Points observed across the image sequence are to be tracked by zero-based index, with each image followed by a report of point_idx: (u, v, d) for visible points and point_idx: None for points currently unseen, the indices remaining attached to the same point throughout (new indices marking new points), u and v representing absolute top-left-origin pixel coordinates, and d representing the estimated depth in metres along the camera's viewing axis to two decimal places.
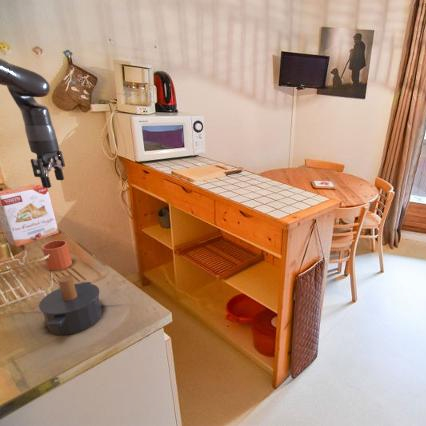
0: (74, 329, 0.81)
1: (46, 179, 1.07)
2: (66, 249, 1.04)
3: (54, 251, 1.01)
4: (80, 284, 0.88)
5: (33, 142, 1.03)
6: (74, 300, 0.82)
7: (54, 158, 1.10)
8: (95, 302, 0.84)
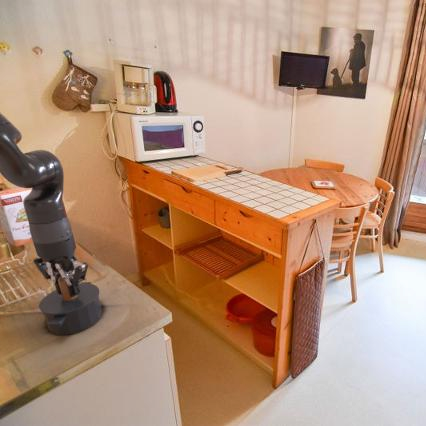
0: (74, 329, 0.81)
1: None
2: None
3: None
4: (80, 284, 0.88)
5: (63, 242, 0.75)
6: (74, 300, 0.82)
7: None
8: (95, 302, 0.84)
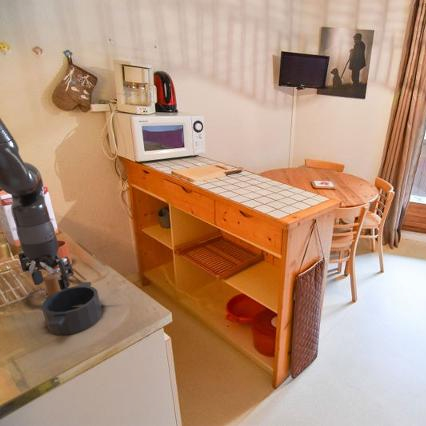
0: (74, 329, 0.81)
1: None
2: (66, 249, 1.04)
3: None
4: None
5: (47, 243, 0.85)
6: None
7: None
8: (95, 302, 0.84)
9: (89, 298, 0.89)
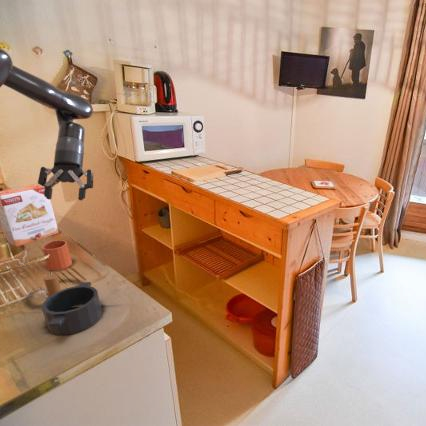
0: (74, 329, 0.81)
1: None
2: (66, 249, 1.04)
3: (54, 251, 1.01)
4: None
5: (81, 155, 1.07)
6: None
7: None
8: (95, 302, 0.84)
9: (89, 298, 0.89)
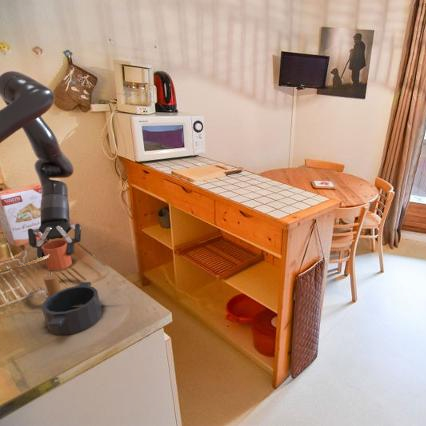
0: (74, 329, 0.81)
1: None
2: (66, 249, 1.04)
3: (54, 251, 1.01)
4: None
5: (67, 210, 1.09)
6: None
7: None
8: (95, 302, 0.84)
9: (89, 298, 0.89)
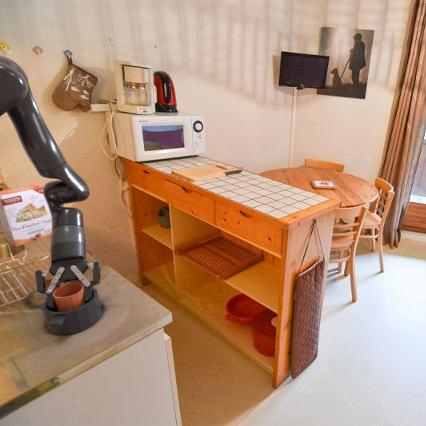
0: (74, 329, 0.81)
1: None
2: (83, 295, 0.83)
3: (69, 299, 0.80)
4: None
5: (84, 245, 0.88)
6: None
7: None
8: (95, 302, 0.84)
9: None
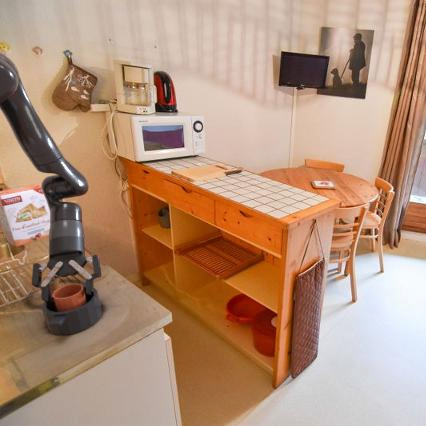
0: (74, 329, 0.81)
1: None
2: (83, 296, 0.84)
3: (68, 300, 0.80)
4: None
5: (82, 239, 0.87)
6: None
7: None
8: (95, 302, 0.84)
9: (89, 298, 0.89)
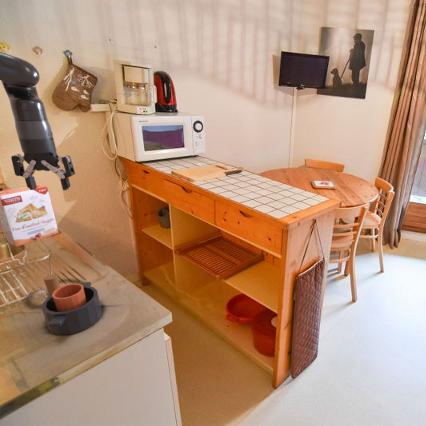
0: (74, 329, 0.81)
1: None
2: (83, 296, 0.84)
3: (68, 300, 0.80)
4: None
5: (49, 140, 0.91)
6: None
7: None
8: (95, 302, 0.84)
9: (89, 298, 0.89)
